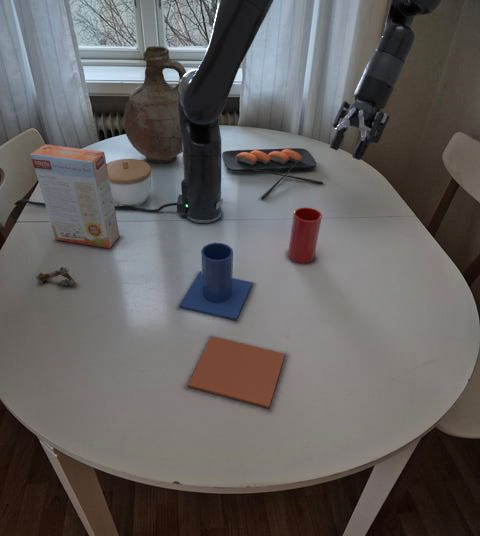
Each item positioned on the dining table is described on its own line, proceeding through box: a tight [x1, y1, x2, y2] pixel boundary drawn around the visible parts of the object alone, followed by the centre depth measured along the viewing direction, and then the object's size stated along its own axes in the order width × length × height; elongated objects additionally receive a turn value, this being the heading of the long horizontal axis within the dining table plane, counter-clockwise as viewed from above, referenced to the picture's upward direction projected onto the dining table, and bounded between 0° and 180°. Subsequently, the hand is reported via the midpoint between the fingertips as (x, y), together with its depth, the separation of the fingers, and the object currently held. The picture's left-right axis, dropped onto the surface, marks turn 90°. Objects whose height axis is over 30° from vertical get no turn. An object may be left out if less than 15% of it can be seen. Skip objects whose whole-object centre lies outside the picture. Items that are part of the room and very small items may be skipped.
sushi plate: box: [221, 147, 324, 200], centre depth 131 cm, size 29×30×4 cm
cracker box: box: [29, 144, 120, 249], centre depth 96 cm, size 14×6×21 cm, turn 77°
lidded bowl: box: [106, 158, 152, 207], centre depth 113 cm, size 13×13×11 cm
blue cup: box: [200, 242, 234, 303], centre depth 86 cm, size 6×6×11 cm
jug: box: [122, 45, 187, 163], centre depth 128 cm, size 22×22×30 cm
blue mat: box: [178, 270, 254, 321], centre depth 89 cm, size 12×12×1 cm
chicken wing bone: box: [35, 266, 77, 287], centre depth 89 cm, size 2×8×4 cm, turn 78°
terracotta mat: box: [187, 335, 286, 409], centre depth 75 cm, size 14×12×1 cm
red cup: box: [287, 206, 323, 265], centre depth 97 cm, size 6×6×11 cm
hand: (344, 153), depth 101 cm, fingers open, 8 cm apart
